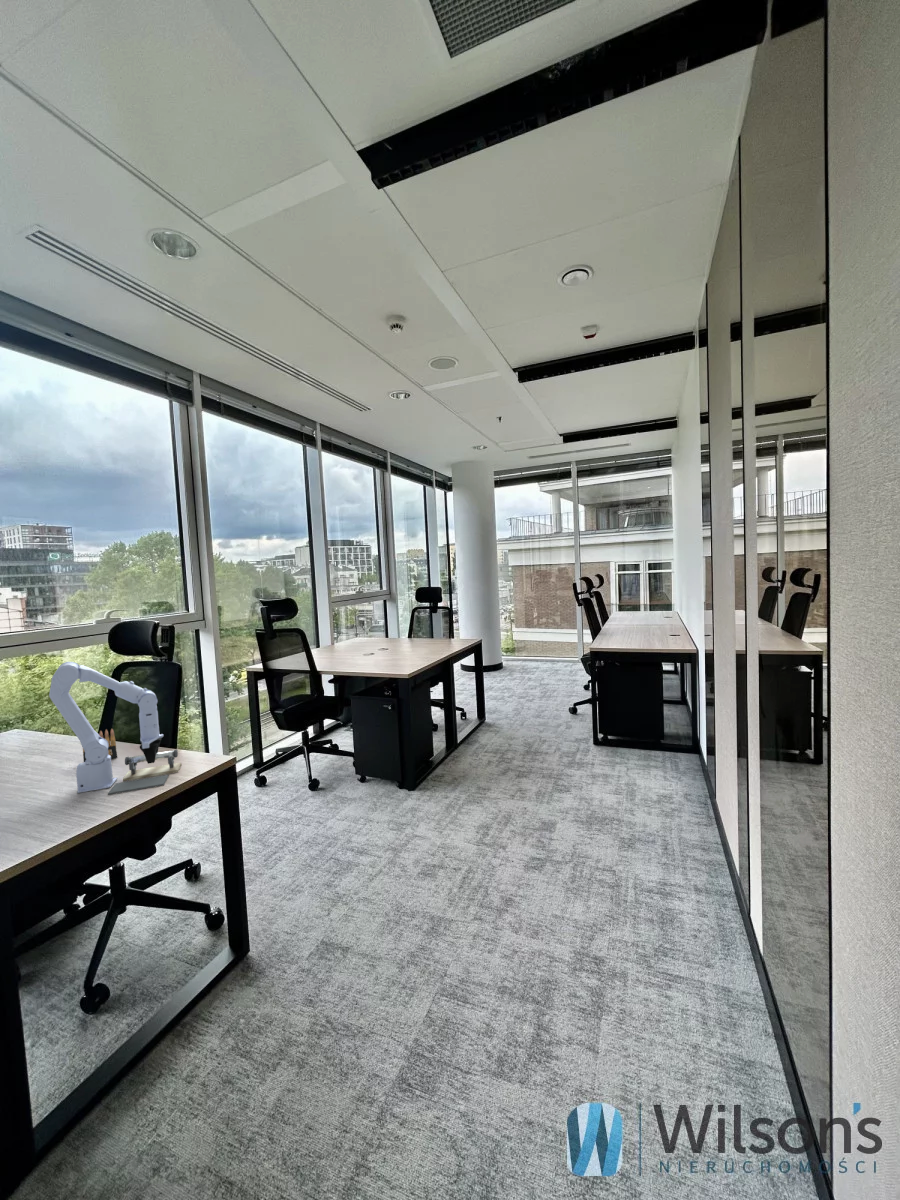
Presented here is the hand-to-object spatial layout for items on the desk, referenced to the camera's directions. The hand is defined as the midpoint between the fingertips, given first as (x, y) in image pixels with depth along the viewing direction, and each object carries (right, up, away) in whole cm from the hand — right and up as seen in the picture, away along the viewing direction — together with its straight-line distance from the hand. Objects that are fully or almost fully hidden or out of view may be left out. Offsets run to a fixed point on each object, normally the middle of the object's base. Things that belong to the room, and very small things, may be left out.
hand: (152, 761), depth 171 cm
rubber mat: (+2, -5, -10) cm, 11 cm away
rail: (0, 0, 0) cm, 0 cm away
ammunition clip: (-30, -5, +15) cm, 33 cm away
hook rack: (0, -4, 0) cm, 4 cm away
